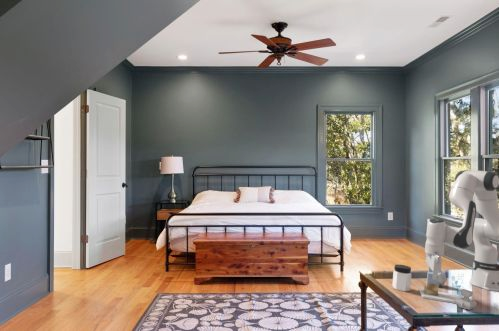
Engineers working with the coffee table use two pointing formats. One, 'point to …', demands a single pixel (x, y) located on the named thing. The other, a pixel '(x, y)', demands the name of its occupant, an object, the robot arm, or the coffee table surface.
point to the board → (441, 296)
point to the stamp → (466, 300)
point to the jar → (402, 278)
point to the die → (441, 279)
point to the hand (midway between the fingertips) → (432, 276)
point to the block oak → (431, 288)
